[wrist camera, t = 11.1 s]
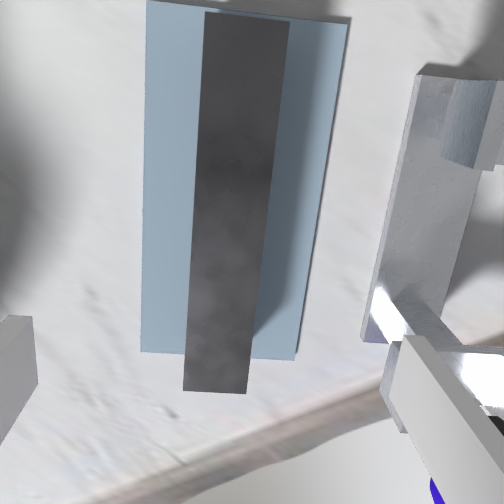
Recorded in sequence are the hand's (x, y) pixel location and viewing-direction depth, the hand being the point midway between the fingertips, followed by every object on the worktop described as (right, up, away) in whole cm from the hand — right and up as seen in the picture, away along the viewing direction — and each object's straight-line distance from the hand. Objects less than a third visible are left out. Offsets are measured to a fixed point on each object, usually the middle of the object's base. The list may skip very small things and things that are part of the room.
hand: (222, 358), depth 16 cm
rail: (-1, +7, +17) cm, 19 cm away
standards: (+14, +6, +19) cm, 25 cm away
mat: (0, +7, +18) cm, 19 cm away
